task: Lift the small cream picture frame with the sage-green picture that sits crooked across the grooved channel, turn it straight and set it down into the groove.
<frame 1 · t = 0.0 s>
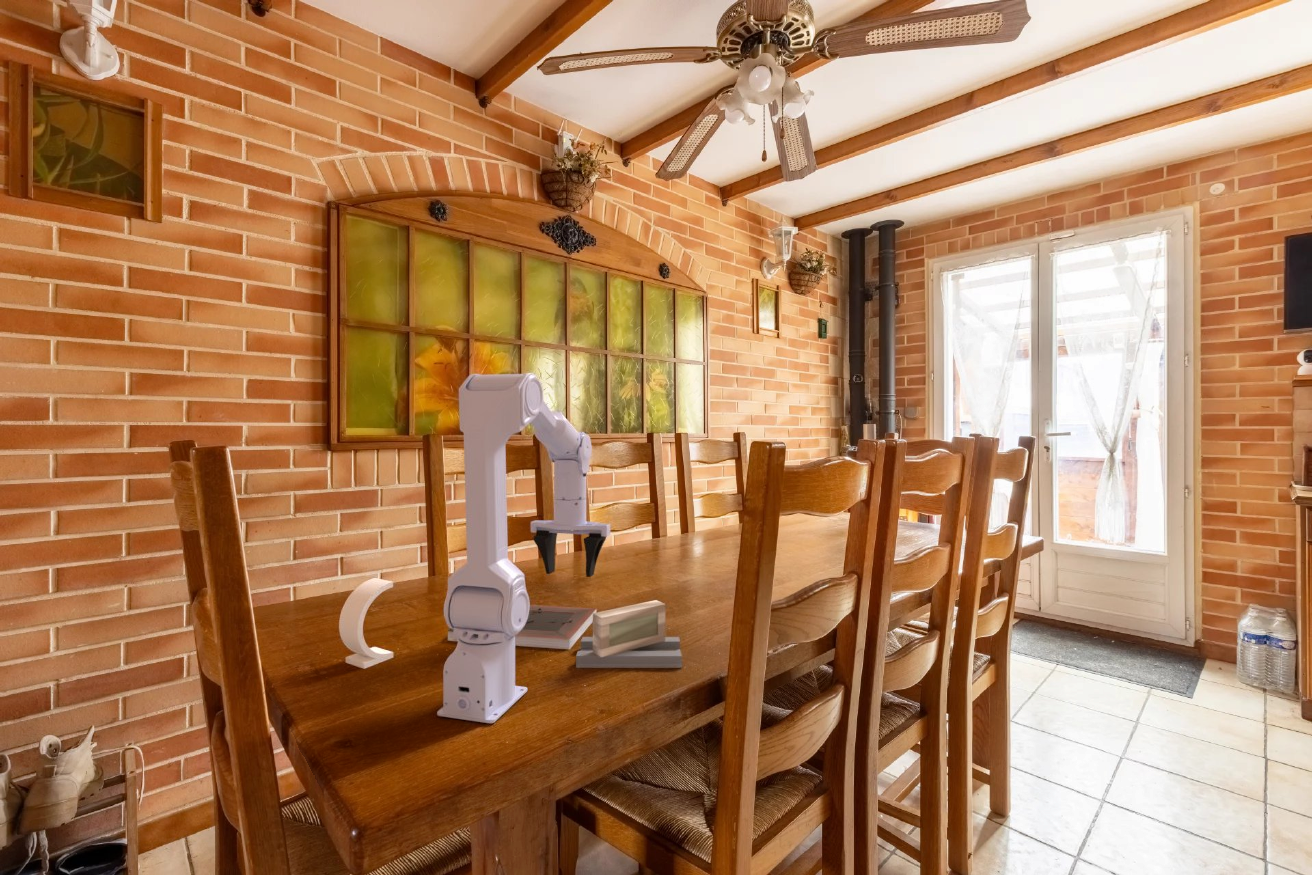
hand: (570, 574, 104), 10 cm above the table, tool pointing down, fingers open, 7 cm apart
headphone stand: (366, 662, 91), on the table
picture frame: (526, 632, 106), on the table
grooved channel: (629, 657, 92), on the table
frame: (629, 646, 92), point 2 cm above the table, touching grooved channel
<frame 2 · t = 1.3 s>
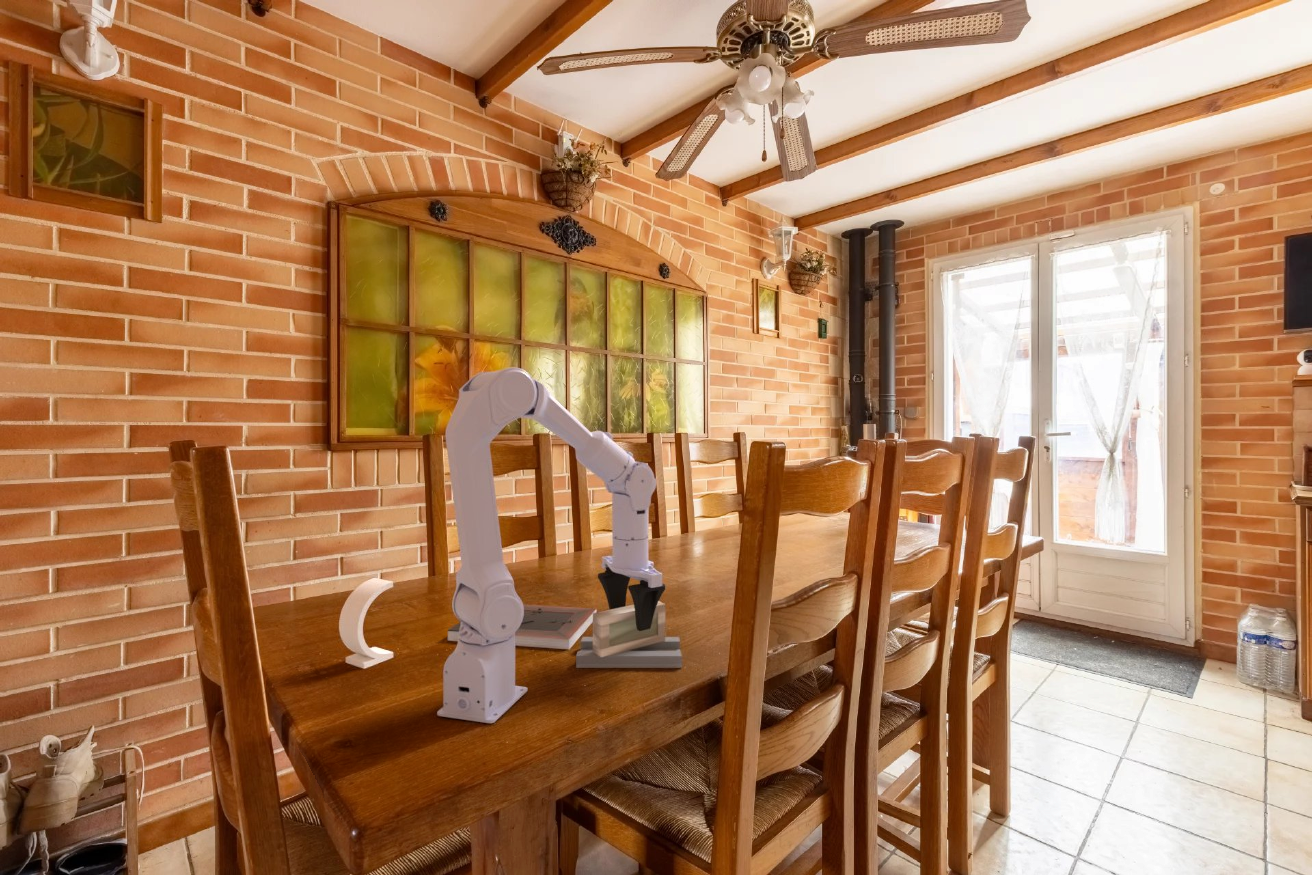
hand: (630, 622, 92), 6 cm above the table, tool pointing down, fingers open, 7 cm apart
nothing on the table moved.
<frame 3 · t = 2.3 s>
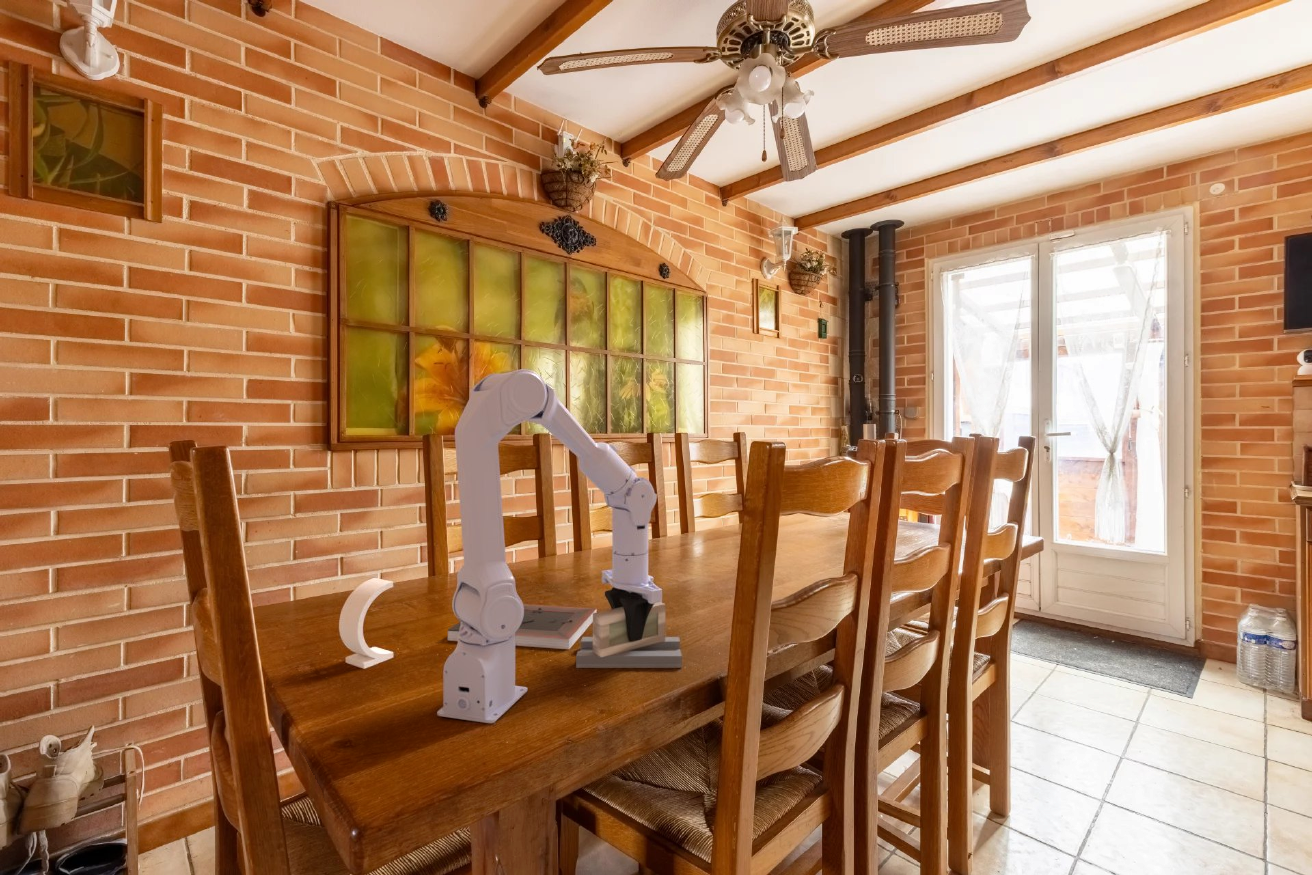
hand: (629, 637, 92), 3 cm above the table, tool pointing down, fingers closed on frame, 2 cm apart
frame: (629, 646, 92), point 2 cm above the table, touching gripper, grooved channel
everything else where it was.
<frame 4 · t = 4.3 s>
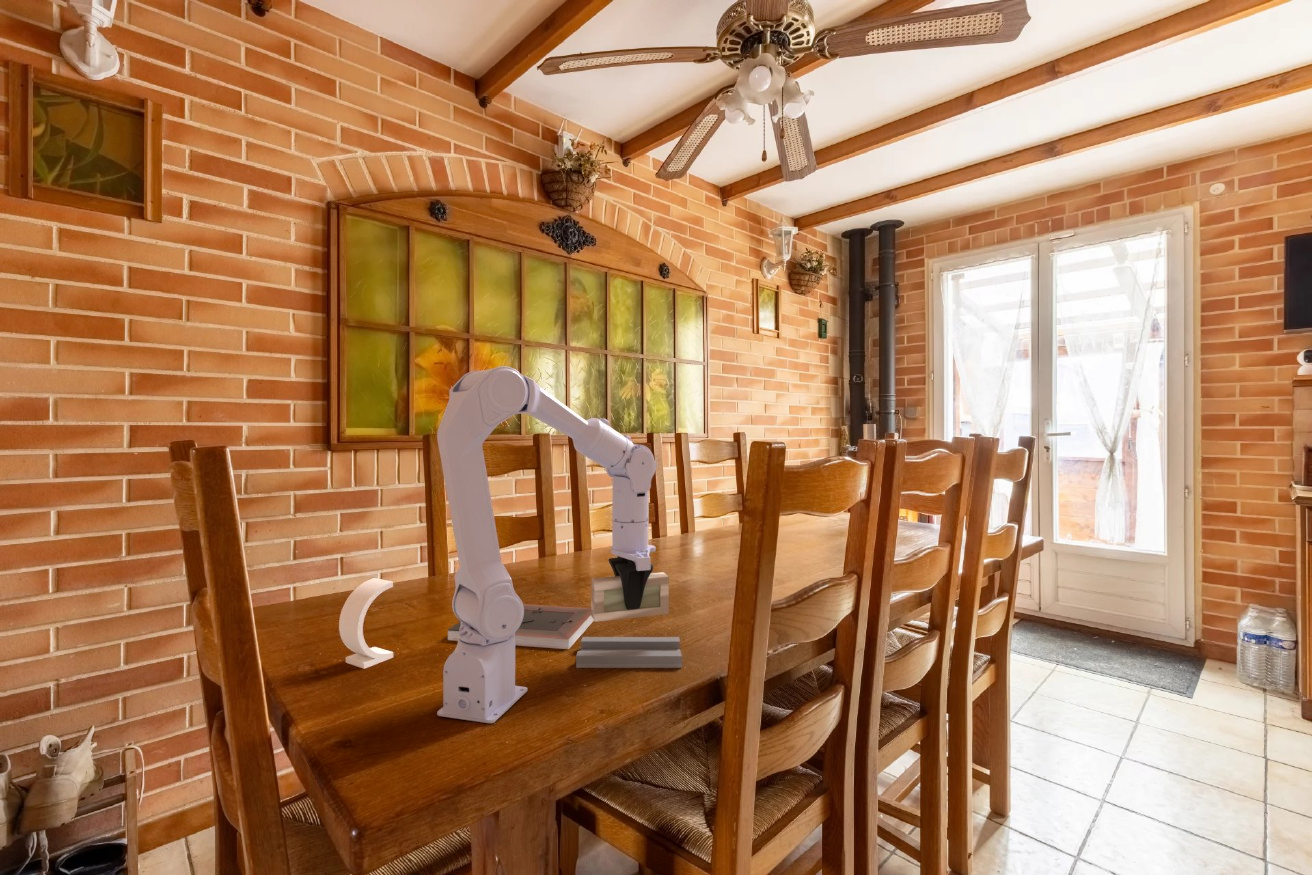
hand: (630, 605, 92), 8 cm above the table, tool pointing down, fingers closed on frame, 2 cm apart
frame: (630, 614, 92), point 7 cm above the table, touching gripper
everything else where it was.
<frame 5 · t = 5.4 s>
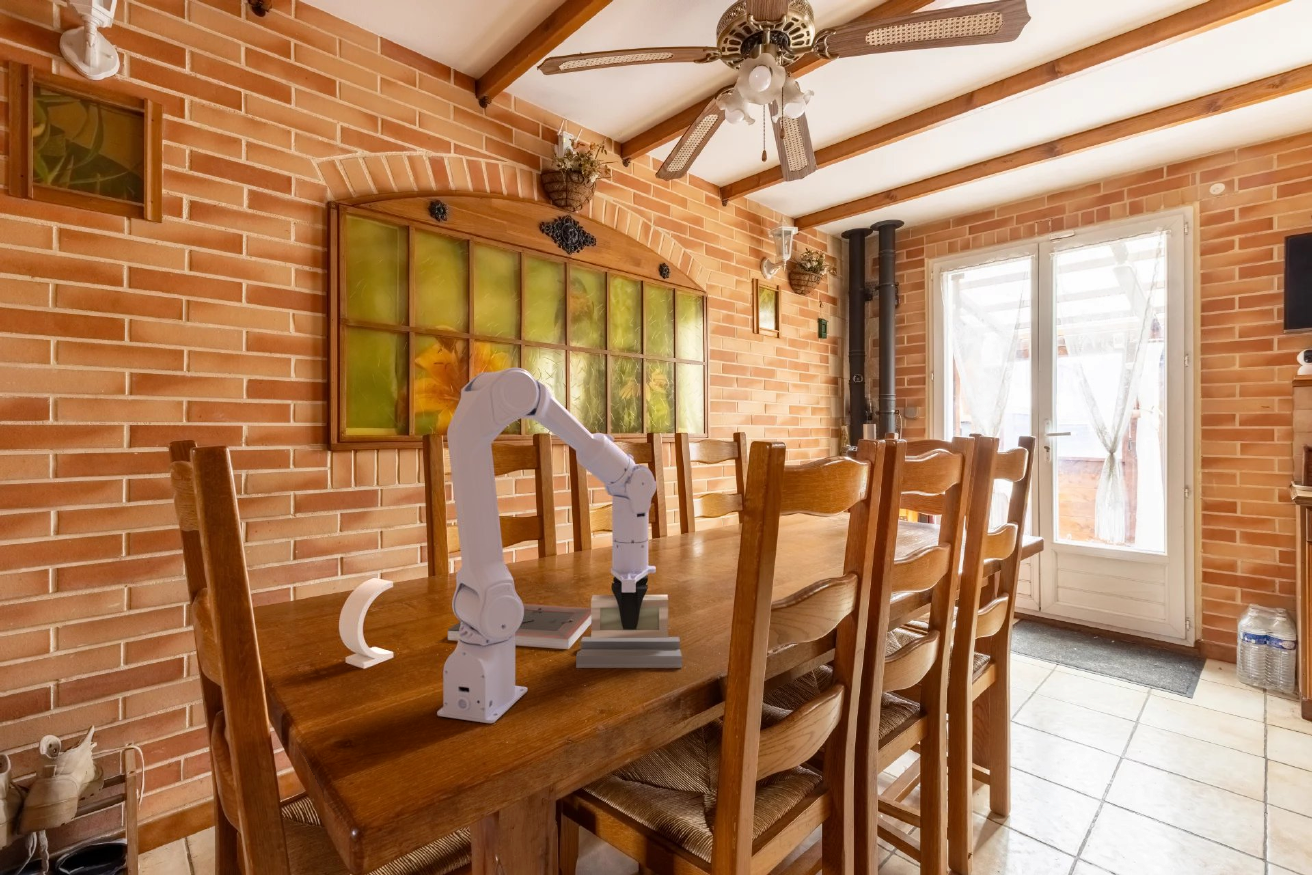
hand: (630, 625, 92), 5 cm above the table, tool pointing down, fingers closed on frame, 2 cm apart
frame: (630, 634, 92), point 4 cm above the table, touching gripper
everything else where it was.
when the fingers open (3 cm above the table, at t = 6.2 s): frame stays where it is, resting on grooved channel.
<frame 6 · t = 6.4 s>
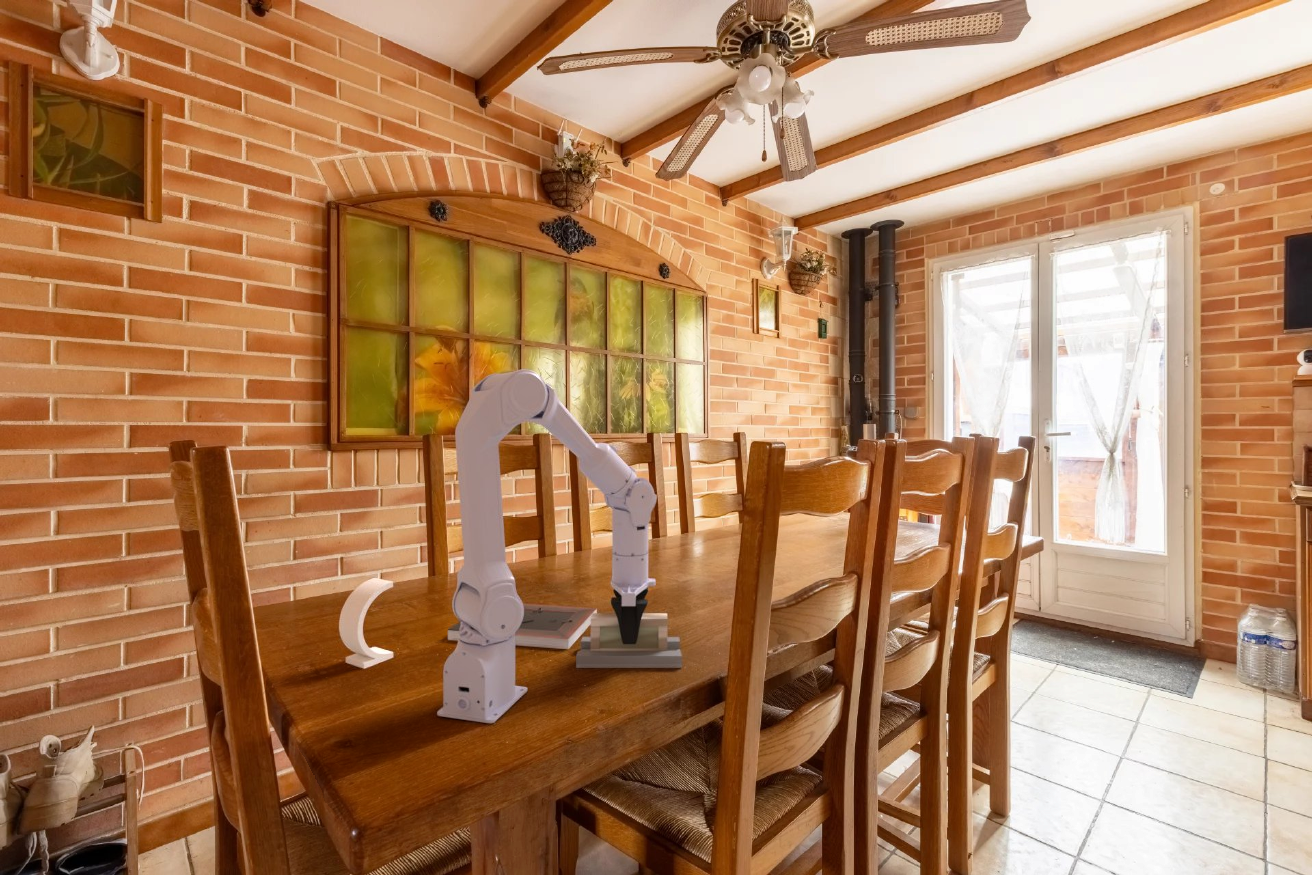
hand: (629, 637, 92), 3 cm above the table, tool pointing down, fingers open, 4 cm apart
frame: (629, 653, 93), point 1 cm above the table, touching grooved channel
everything else where it was.
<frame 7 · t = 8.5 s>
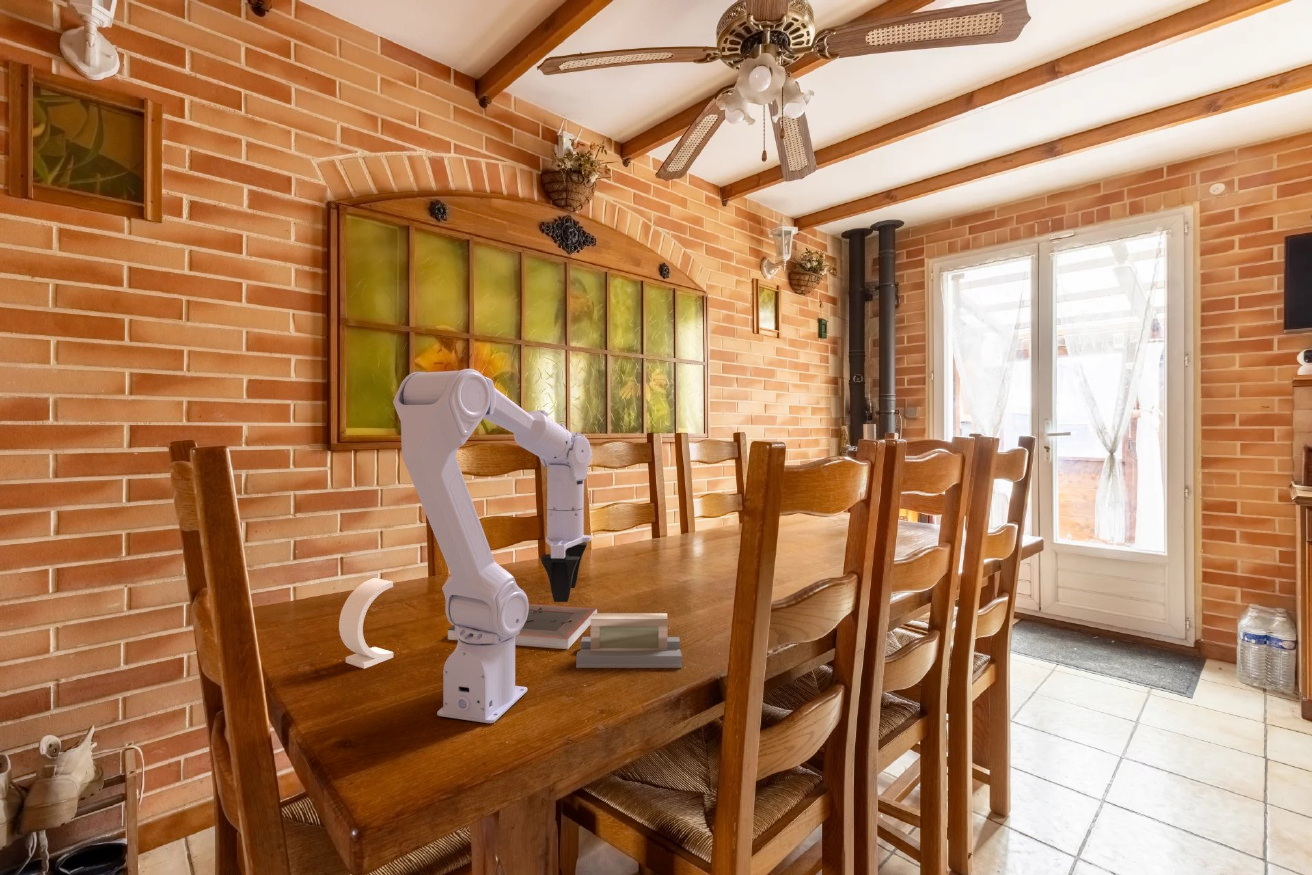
hand: (565, 594, 92), 10 cm above the table, tool pointing down, fingers open, 7 cm apart
nothing on the table moved.
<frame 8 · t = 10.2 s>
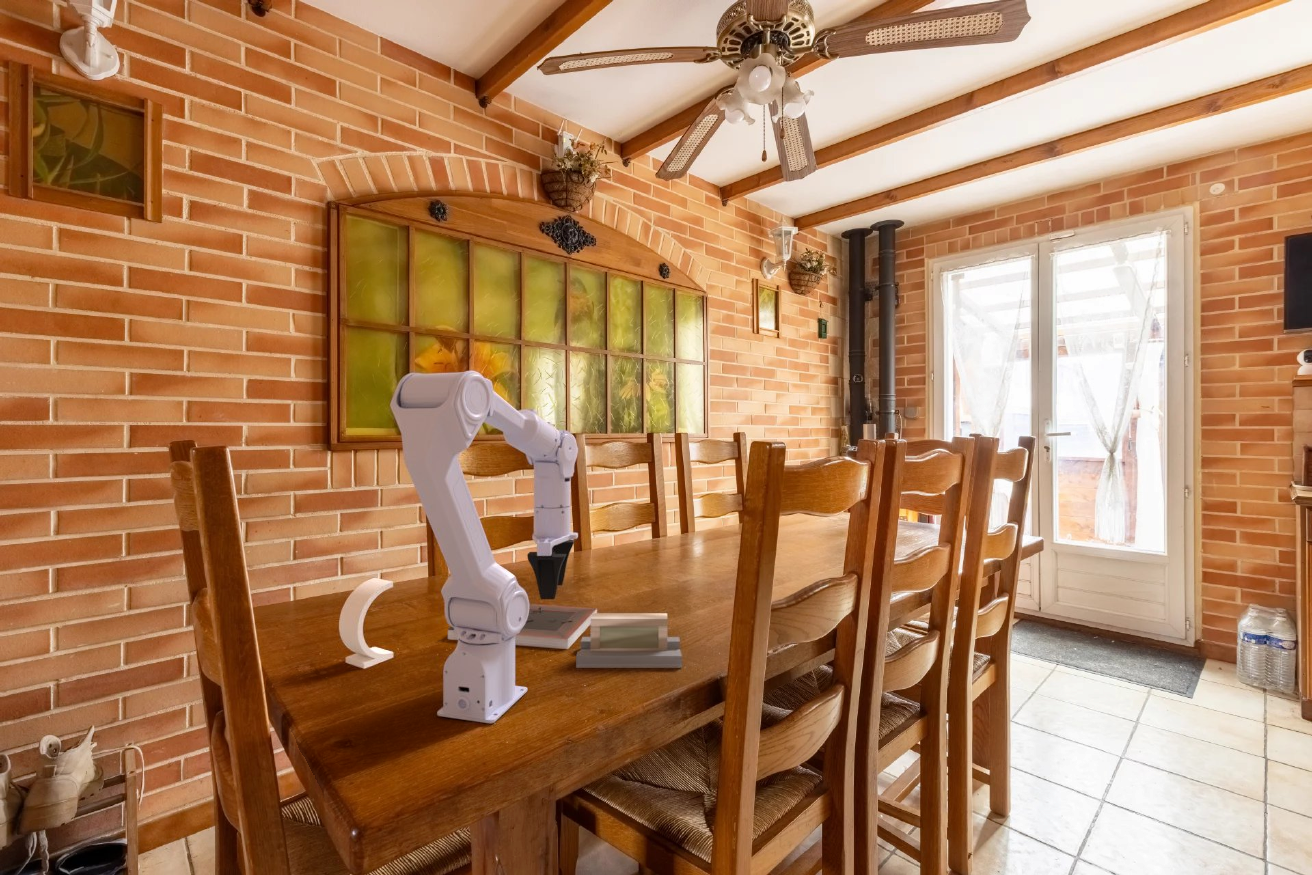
hand: (552, 591, 92), 10 cm above the table, tool pointing down, fingers open, 7 cm apart
nothing on the table moved.
at the end: frame 0.1 cm off-centre on the grooved channel, point 0.6 cm above the grooved channel's base; frame tilted 0°; the gripper is holding nothing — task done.
